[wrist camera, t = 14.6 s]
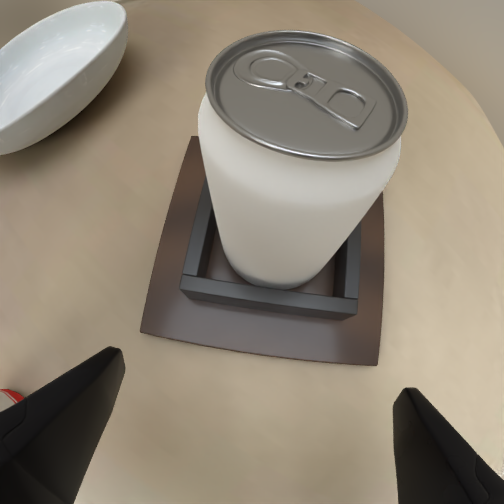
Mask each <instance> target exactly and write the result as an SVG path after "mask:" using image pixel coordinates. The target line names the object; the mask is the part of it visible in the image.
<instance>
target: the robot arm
mask: <svg viewBox="0 0 504 504" xmlns="http://www.w3.org/2000/svg"><path fill="white" fill-rule="evenodd" d="M124 374H125V363H124V358H123V354H122V351H121V349H119V348H115V347H112V346H109V347H107V348H105V349H103V350H102V351H100V352H99V353H97V354H95V355H94V356H92V357H90V358H89V359H87V360H86V361H84V362H82V363H81V364H79V365H78V366H76V367H74V368H73V369H71V370H69V371H68V372H66V373H65V374H63V375H61V376H60V377H58V378H56V379H55V380H53V381H52V382H50V383H48V384H47V385H45V386H44V387H42V388H40V389H39V390H37V391H35V392H34V393H32V394H30V395H29V396H28V397H25V398H24V399H22V400H21V401H19V402H17V403H16V404H14V405H12V406H10V407H9V408H7V409H5V410H3V411H1V412H0V504H74V501H75V498H76V496H77V493H78V491H79V488H80V486H81V483H82V481H83V478H84V476H85V473H86V471H87V468H88V466H89V464H90V461H91V459H92V457H93V454H94V452H95V449H96V447H97V445H98V443H99V440H100V438H101V436H102V433H103V431H104V429H105V427H106V424H107V422H108V420H109V418H110V415H111V413H112V410H113V408H114V405H115V401H116V398H117V395H118V392H119V389H120V386H121V383H122V380H123V377H124ZM393 443H394V456H395V466H396V476H397V488H398V503H399V504H504V480H503V479H502V478H501V477H500V476H498V475H497V474H496V473H495V472H494V471H493V470H492V469H491V468H490V467H489V466H488V465H487V464H486V462H485V461H484V460H483V459H482V458H481V457H480V456H479V455H478V454H477V453H476V452H475V451H474V449H473V448H472V447H471V446H470V445H469V444H468V443H467V442H466V441H465V440H464V438H463V437H462V436H461V435H460V434H459V433H458V432H457V431H456V430H455V429H454V428H453V427H452V425H451V424H450V423H449V422H448V421H447V420H446V419H445V418H444V417H443V416H442V415H441V414H440V413H439V411H438V410H437V409H436V408H435V407H434V406H433V405H432V404H431V403H430V402H429V401H428V400H427V399H426V398H425V397H424V396H423V394H422V393H421V392H420V391H419V390H418V389H417V388H413V387H412V388H404V389H403V390H402V392H401V393H400V395H399V396H398V398H397V399H396V401H395V402H394V405H393Z"/></svg>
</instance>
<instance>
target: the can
mask: <svg viewBox="0 0 504 504" xmlns="http://www.w3.org/2000/svg"><path fill="white" fill-rule="evenodd" d="M205 86H206V93H205V95H204V98H203V100H202V103H201V106H200V109H199V115H198V134H199V140H200V147H201V152H202V157H203V162H204V167H205V172H206V177H207V181H208V186H209V191H210V195H211V200H212V204H213V209H214V213H215V217H216V222H217V226H218V230H219V234H220V238H221V242H222V246H223V250H224V253H225V255H226V258H227V260H228V262H229V263H230V265H231V266H232V268H233V269H234V270H235V271H236V273H237V274H238V275H240V276H241V277H242V278H243V279H245V280H246V281H248V282H249V283H251V284H253V285H255V286H260V287H267V288H274V289H281V290H287V289H292V288H295V287H298V286H300V285H303V284H305V283H306V282H308V281H309V280H311V279H312V278H313V277H315V276H316V275H317V274H318V273H319V272H320V270H321V269H322V268H323V267H324V266H325V265H326V263H327V262H328V261H329V260H330V259H331V257H332V256H333V255H334V254H335V252H336V251H337V250H338V249H339V247H340V246H341V245H342V244H343V242H344V241H345V240H346V239H347V237H348V236H349V235H350V234H351V232H352V231H353V230H354V228H355V227H356V226H357V224H358V223H359V222H360V220H361V219H362V218H363V217H364V215H365V214H366V213H367V211H368V210H369V208H370V207H371V206H372V204H373V203H374V202H375V200H376V199H377V198H378V196H379V195H380V193H381V192H382V191H383V189H384V188H385V186H386V184H387V183H388V181H389V180H390V178H391V177H392V175H393V173H394V171H395V169H396V166H397V164H398V161H399V157H400V151H401V135H402V133H403V131H404V129H405V127H406V124H407V119H408V106H407V101H406V98H405V95H404V93H403V90H402V88H401V87H400V85H399V83H398V82H397V80H396V79H395V78H394V76H393V75H392V74H391V73H390V72H389V70H388V69H387V68H386V67H385V66H383V65H382V64H381V63H380V62H379V61H378V60H376V59H375V58H374V57H372V56H371V55H370V54H368V53H366V52H365V51H363V50H362V49H360V48H358V47H356V46H354V45H352V44H350V43H348V42H345V41H343V40H340V39H337V38H334V37H331V36H328V35H324V34H320V33H315V32H309V31H300V30H277V31H268V32H262V33H258V34H254V35H251V36H247V37H245V38H242V39H240V40H238V41H236V42H234V43H232V44H231V45H229V46H227V47H226V48H225V49H223V50H222V51H221V52H220V53H219V54H218V55H217V56H216V57H215V58H214V60H213V61H212V63H211V64H210V66H209V69H208V71H207V75H206V81H205Z"/></svg>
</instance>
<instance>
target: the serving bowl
mask: <svg viewBox="0 0 504 504" xmlns="http://www.w3.org/2000/svg"><path fill="white" fill-rule="evenodd" d="M127 38H128V21H127V13H126V10H125V9H124V7H123V6H121V5H120V4H118V3H115V2H111V1H96V2H88V3H84V4H80V5H77V6H73V7H70V8H67V9H65V10H62V11H60V12H58V13H55V14H53V15H51V16H49V17H47V18H45V19H43V20H41V21H39V22H38V23H36V24H34V25H32V26H31V27H29V28H28V29H27V30H25V31H23V32H22V33H21V34H19V35H18V36H16V37H15V38H14V39H12V40H11V41H10V42H9V43H7V44H6V45H5V46H4V47H3V48H1V50H0V155H3V154H9V153H12V152H16V151H19V150H21V149H24V148H26V147H28V146H31V145H33V144H35V143H36V142H38V141H40V140H42V139H44V138H45V137H47V136H49V135H50V134H52V133H53V132H55V131H56V130H58V129H59V128H61V127H62V126H63V125H65V124H66V123H67V122H68V121H70V120H71V119H72V118H74V117H75V116H76V115H77V114H78V113H79V112H81V111H82V110H83V109H84V108H85V107H86V106H87V105H88V104H89V103H90V102H91V101H92V100H93V99H94V98H95V97H96V96H97V95H98V94H99V93H100V91H101V90H102V89H103V88H104V87H105V85H106V84H107V83H108V81H109V80H110V78H111V77H112V76H113V74H114V72H115V71H116V69H117V67H118V65H119V63H120V61H121V59H122V57H123V54H124V51H125V48H126V44H127Z"/></svg>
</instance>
